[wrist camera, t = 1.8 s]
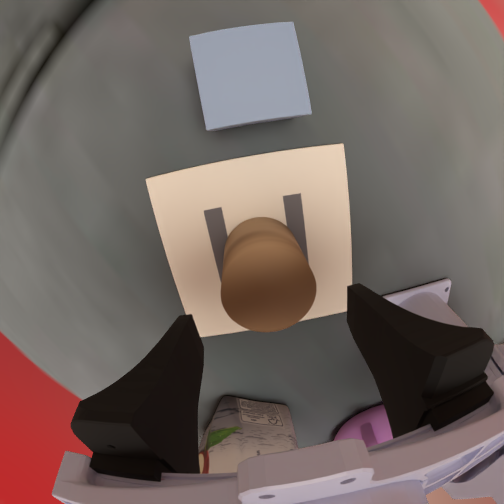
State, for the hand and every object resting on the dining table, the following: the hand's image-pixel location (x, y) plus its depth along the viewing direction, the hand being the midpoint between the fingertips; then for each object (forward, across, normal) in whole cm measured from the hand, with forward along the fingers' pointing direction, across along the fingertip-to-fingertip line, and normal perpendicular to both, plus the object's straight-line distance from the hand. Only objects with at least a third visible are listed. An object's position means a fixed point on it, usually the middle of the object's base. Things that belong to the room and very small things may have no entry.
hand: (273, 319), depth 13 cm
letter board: (+8, 0, 0) cm, 8 cm away
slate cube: (+8, -1, -11) cm, 14 cm away
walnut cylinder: (+8, 0, 0) cm, 8 cm away
